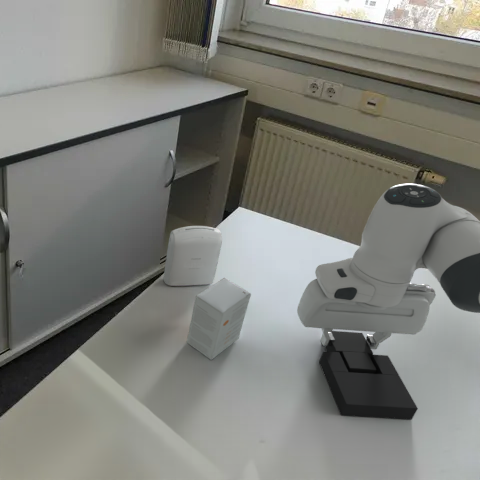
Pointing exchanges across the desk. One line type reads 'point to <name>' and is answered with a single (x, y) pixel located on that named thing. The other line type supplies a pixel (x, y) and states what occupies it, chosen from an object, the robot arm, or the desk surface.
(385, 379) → the black notched block
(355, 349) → the black block
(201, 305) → the small box
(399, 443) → the desk surface
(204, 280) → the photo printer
